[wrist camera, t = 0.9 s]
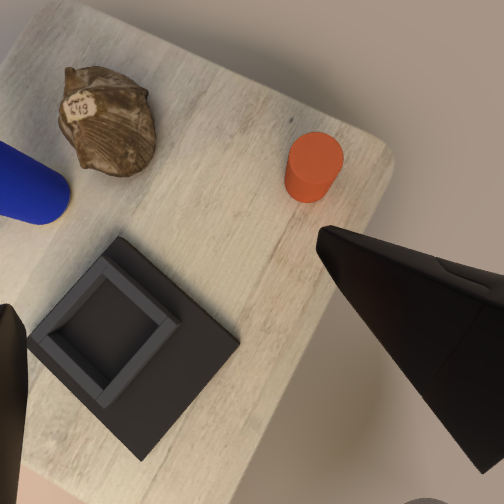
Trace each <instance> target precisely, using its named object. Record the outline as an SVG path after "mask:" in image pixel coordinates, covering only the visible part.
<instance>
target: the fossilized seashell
mask: <svg viewBox="0 0 504 504" xmlns="http://www.w3.org/2000/svg"><path fill="white" fill-rule="evenodd" d="M148 95H149V92H148V90H146V89H144V88H142V87H140V86H138V85H137V84H136V83H135V82H134V81H133V80H131V79H130V78H128V77H126V76H125V75H122V74H120V73H117V72H114V71H113V70H110V69H107V68H104V67H98V66H95V67H86V68H81V69H77V70H75V69H74V68H72V67H67V68H65V88H64V99H63V100H62V101H61V103H60V108H59V112H60V115H59V118H58V123H59V127H60V129H61V131H62V133H63V135H64V136H65V137H66V139H67V140H68V141H69V143H70V144H71V145H72V146H73V147H74V148H75V149H76V152H77V156H78V159H79V162H80V166H81V167H82V168H83V169H88V168H89V169H95V170H97V171H101V172H104V173H106V174H108V175H110V176H116V177H130V176H132V175H134V174H136V173H138V172H140V171H142V170H143V169H144V168H145V167H147V165H148V163H149V162H150V160H151V159H152V157H153V154H154V151H155V143H156V133H155V127H154V120H153V117H152V113H151V111H150V108H149V105H148V103H147V96H148Z"/></svg>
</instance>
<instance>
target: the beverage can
mask: <svg viewBox="0 0 504 504" xmlns="http://www.w3.org/2000/svg"><path fill="white" fill-rule="evenodd" d="M69 201H70V190H69V186H68V183H67V181H66V180H65V178H64V177H63V176H62V175H60V174H59V173H57V172H56V171H54V170H52V169H50V168H49V167H47V166H45V165H43V164H41V163H40V162H38V161H36V160H34V159H32V158H31V157H29V156H27V155H25V154H24V153H22V152H20V151H18V150H16V149H15V148H13V147H11V146H9V145H7V144H6V143H4V142H2V141H0V215H3V216H6V217H10V218H13V219H17V220H21V221H24V222H28V223H31V224H36V225H43V224H48V223H51V222H53V221H55V220H56V219H57V218H59V217H60V216H61V215H62V214H63V213H64V212H65V211H66V209H67V207H68V205H69Z"/></svg>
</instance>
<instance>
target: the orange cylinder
mask: <svg viewBox="0 0 504 504" xmlns="http://www.w3.org/2000/svg"><path fill="white" fill-rule="evenodd" d="M342 165H343V151H342V149H341V147H340V145H339V143H338V142H337V141H336V140H335V139H334V138H333V137H331V136H329V135H327V134H325V133H321V132H312V133H307V134H305V135H303V136H301V137H299V138H298V139H297V140H296V141H295V142H294V143H293V145H292V147H291V149H290V152H289V157H288V163H287V168H286V174H285V187H286V190H287V192H288V193H289V194H290V196H291V197H293V198H294V199H295V200H297V201H300V202H303V203H311V202H315V201H317V200H319V199H321V198H322V197H323V196H324V195H325V194H326V193H327V191H328V189H329V188H330V186H331V185H332V183H333V181H334V180H335V178H336V177H337V175H338V173H339V172H340V170H341V168H342Z"/></svg>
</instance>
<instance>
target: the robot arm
mask: <svg viewBox="0 0 504 504" xmlns="http://www.w3.org/2000/svg"><path fill="white" fill-rule="evenodd" d="M316 252H317V254H318V256H319V258H320V259H321V261H322V263H323V264H324V266H325V267H326V269H327V271H328V272H329V274H330V276H331V277H332V279H333V280H334V282H335V284H336V285H337V287H338V288H339V289H340V291H341V292H342V293H343V295H344V296H345V297H346V299H347V300H348V301H349V303H350V304H351V305H352V306H353V308H354V309H355V310H356V312H357V313H358V314H359V316H360V317H361V318H362V320H363V321H364V322H365V323H366V325H367V326H368V327H369V329H370V330H371V331H372V333H373V334H374V335H375V336H376V338H377V339H378V340H379V342H380V343H381V344H382V346H383V347H384V348H385V350H386V351H387V352H388V353H389V355H391V357H392V359H393V360H394V361H395V362H396V364H397V365H398V366H399V368H400V369H401V370H402V372H403V373H404V374H405V375H406V377H407V378H408V379H409V381H410V382H411V383H412V385H413V386H414V387H415V389H416V390H417V391H418V392H419V394H420V395H421V396H422V398H423V399H424V401H425V402H426V403H427V404H428V406H429V407H430V408H431V410H432V411H433V412H434V414H435V415H436V416H437V418H438V419H439V420H440V421H441V423H442V424H443V425H444V427H445V428H446V429H447V430H448V432H449V433H450V434H451V435H452V437H453V438H454V440H455V441H456V442H457V443H458V445H459V446H460V448H461V449H462V450H463V451H464V453H465V454H466V455H467V457H468V458H469V459H470V461H471V462H472V463H473V464H474V466H475V467H476V468H477V469H478V470H479V471H480V472H481V474H484V473H486V472H487V471H488V470H489V469H491V468H492V467H493V466H495V465H496V464H497V463H499V462H500V461H501V460H503V459H504V275H500V274H496V273H492V272H488V271H484V270H481V269H476V268H473V267H469V266H465V265H462V264H459V263H454V262H451V261H448V260H445V259H441V258H438V257H434V256H432V255H428V254H425V253H421V252H418V251H415V250H412V249H408V248H405V247H402V246H399V245H395V244H392V243H388V242H385V241H382V240H378V239H375V238H372V237H369V236H365V235H362V234H359V233H356V232H352V231H349V230H346V229H342V228H339V227H336V226H332V225H329V226H325V227H322V228H320V230H319V232H318V238H317V243H316ZM27 397H28V364H27V335H26V329H25V326H24V324H23V323H22V321H21V320H20V318H19V316H18V315H17V313H16V311H15V310H14V308H13V307H12V306H11V305H10V304H2V305H0V504H16V499H17V489H18V481H19V472H20V462H21V453H22V444H23V435H24V426H25V416H26V407H27Z"/></svg>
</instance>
